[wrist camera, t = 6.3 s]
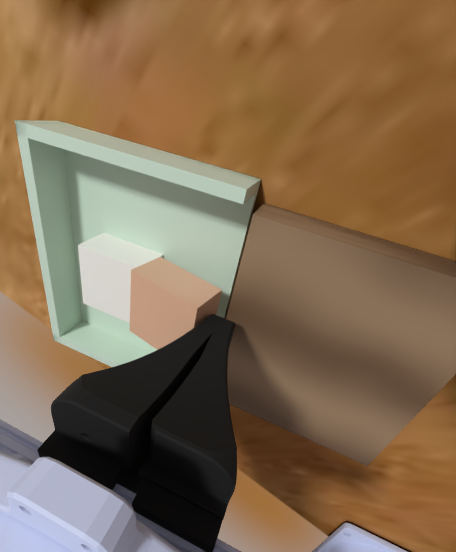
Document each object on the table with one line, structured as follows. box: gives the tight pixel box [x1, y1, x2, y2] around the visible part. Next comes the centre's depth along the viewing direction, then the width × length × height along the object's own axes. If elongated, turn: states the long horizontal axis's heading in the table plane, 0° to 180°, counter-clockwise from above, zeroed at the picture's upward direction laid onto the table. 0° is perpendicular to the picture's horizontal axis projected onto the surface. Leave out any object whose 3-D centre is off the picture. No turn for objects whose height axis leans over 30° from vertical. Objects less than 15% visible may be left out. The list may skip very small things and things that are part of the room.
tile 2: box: [130, 257, 222, 350], centre depth 15 cm, size 4×4×2 cm
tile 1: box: [78, 233, 163, 323], centre depth 16 cm, size 4×4×2 cm
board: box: [226, 203, 456, 466], centre depth 15 cm, size 12×10×2 cm
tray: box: [15, 120, 261, 367], centre depth 16 cm, size 14×11×2 cm
